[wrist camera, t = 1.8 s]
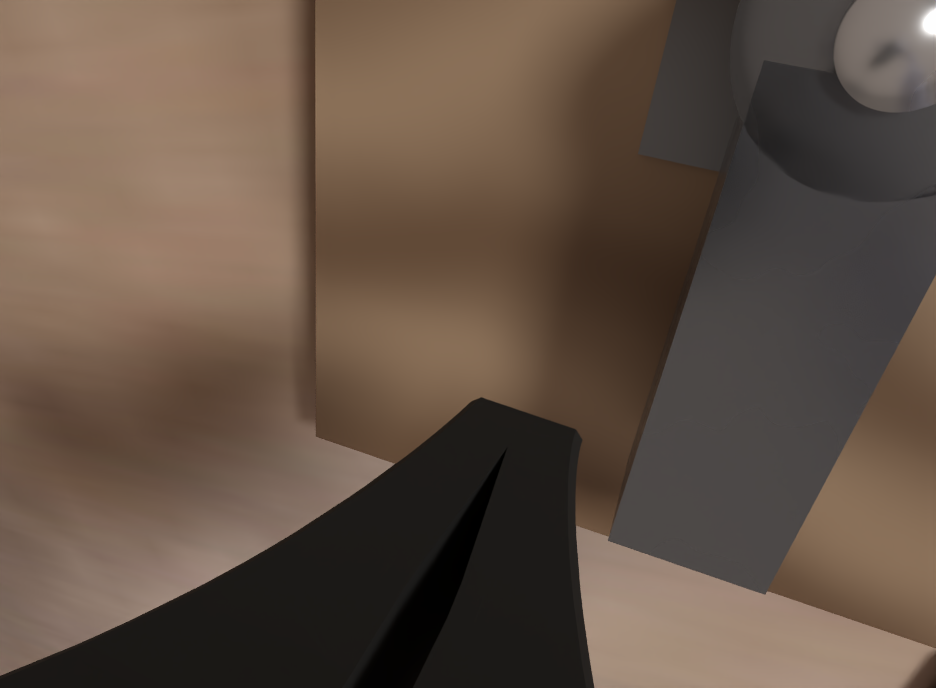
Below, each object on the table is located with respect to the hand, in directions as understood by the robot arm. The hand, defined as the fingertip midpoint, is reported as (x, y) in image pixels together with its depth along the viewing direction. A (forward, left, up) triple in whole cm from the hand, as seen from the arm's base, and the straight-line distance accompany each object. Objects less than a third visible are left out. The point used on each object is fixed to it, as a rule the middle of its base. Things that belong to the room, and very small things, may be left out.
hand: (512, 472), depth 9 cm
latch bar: (+1, -3, -7) cm, 7 cm away
